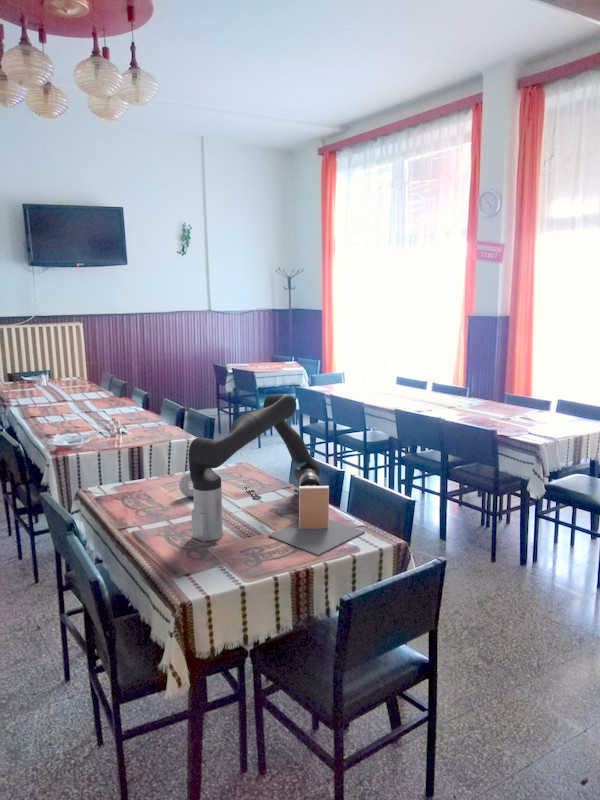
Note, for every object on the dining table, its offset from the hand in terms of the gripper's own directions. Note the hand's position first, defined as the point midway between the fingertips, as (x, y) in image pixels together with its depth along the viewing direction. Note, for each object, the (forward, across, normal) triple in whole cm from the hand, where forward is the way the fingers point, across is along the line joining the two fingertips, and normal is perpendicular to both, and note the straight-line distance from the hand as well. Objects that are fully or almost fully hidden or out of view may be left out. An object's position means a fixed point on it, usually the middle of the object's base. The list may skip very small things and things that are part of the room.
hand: (312, 500), depth 209 cm
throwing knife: (-36, -23, +9) cm, 44 cm away
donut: (-31, -46, +9) cm, 56 cm away
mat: (+8, +1, +9) cm, 12 cm away
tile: (+3, 0, +8) cm, 9 cm away
